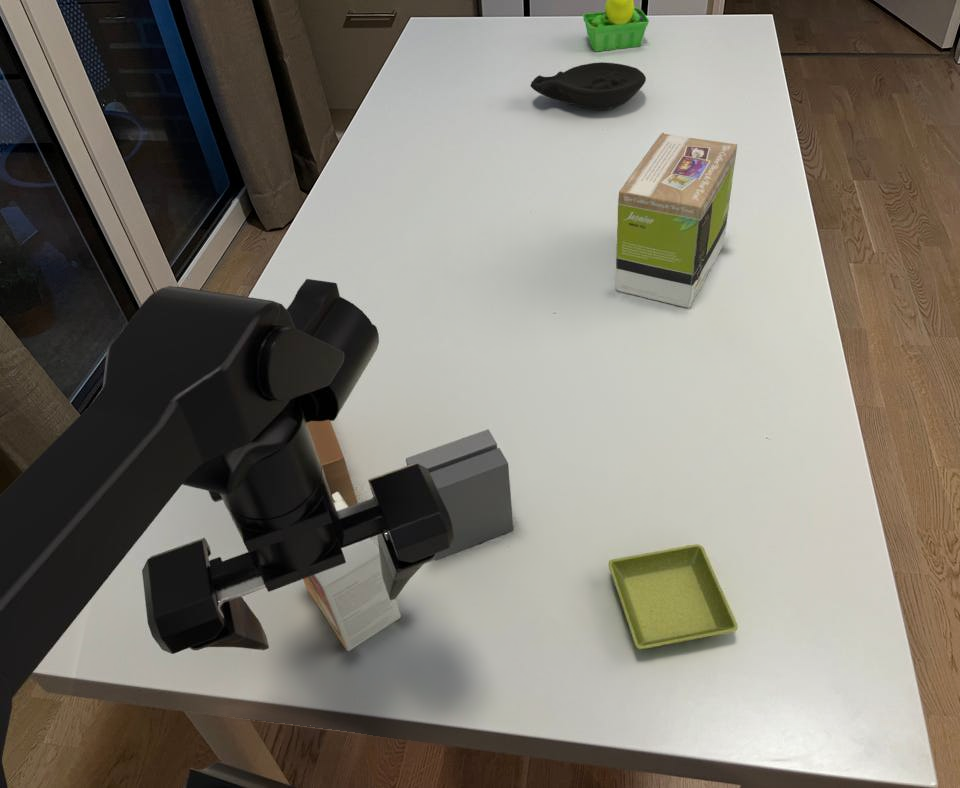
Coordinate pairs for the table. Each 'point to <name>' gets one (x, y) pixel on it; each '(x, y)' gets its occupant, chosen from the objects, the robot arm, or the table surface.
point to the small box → (354, 592)
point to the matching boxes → (332, 460)
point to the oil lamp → (592, 85)
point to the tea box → (673, 218)
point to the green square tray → (671, 596)
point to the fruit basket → (616, 26)
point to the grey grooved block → (471, 488)
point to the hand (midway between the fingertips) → (329, 618)
